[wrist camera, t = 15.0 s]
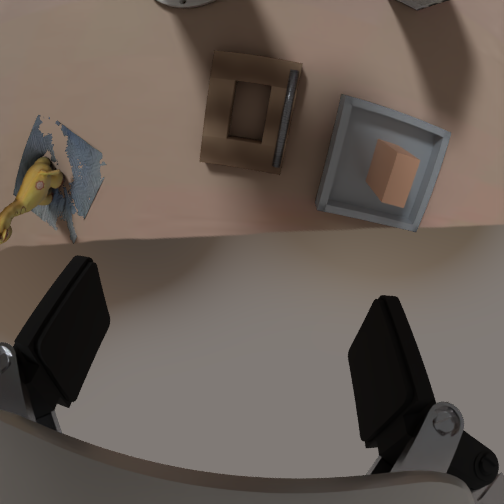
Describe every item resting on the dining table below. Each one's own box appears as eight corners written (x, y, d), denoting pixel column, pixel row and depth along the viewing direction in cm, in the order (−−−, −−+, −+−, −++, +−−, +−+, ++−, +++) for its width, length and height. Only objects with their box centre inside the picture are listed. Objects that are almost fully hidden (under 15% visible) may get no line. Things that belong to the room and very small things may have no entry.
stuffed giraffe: (13, 194, 42) (-42, 239, 29) (43, 107, 35) (-29, 133, 21) (75, 241, 48) (29, 300, 34) (116, 158, 40) (57, 203, 27)
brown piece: (217, 51, 31) (213, 50, 29) (301, 64, 31) (302, 63, 29) (203, 157, 38) (198, 162, 36) (279, 170, 39) (280, 176, 36)
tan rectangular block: (377, 138, 35) (397, 152, 29) (398, 145, 35) (420, 160, 29) (365, 181, 38) (381, 202, 32) (385, 186, 38) (403, 208, 32)
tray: (341, 93, 32) (345, 95, 30) (442, 128, 33) (451, 132, 31) (314, 202, 41) (317, 210, 38) (409, 224, 41) (416, 232, 39)
